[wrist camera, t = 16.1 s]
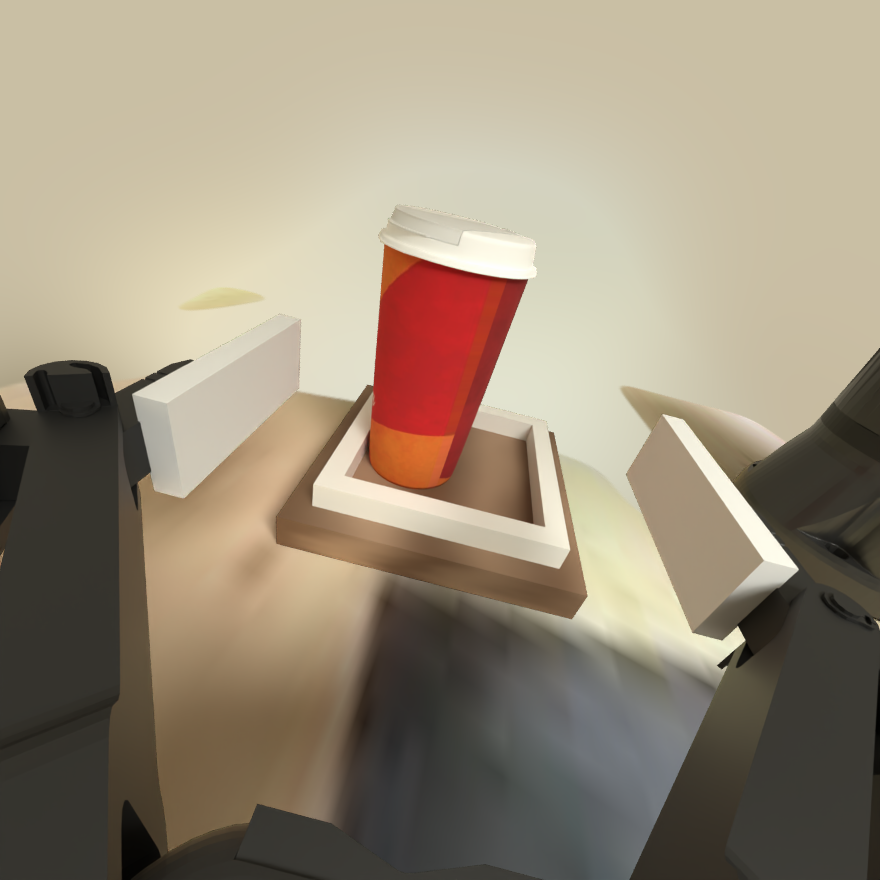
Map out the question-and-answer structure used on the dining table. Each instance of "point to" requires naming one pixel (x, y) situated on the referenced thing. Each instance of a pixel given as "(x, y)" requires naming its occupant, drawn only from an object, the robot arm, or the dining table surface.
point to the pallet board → (448, 514)
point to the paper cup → (439, 336)
